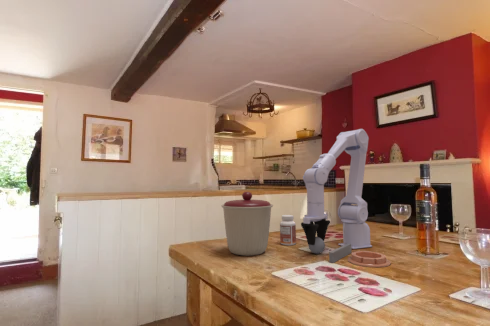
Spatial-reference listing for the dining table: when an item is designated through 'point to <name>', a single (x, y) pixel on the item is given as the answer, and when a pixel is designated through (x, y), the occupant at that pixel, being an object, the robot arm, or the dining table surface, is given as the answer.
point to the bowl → (368, 259)
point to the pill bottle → (287, 230)
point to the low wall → (340, 253)
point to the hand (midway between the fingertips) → (316, 242)
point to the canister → (247, 225)
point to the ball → (317, 246)
